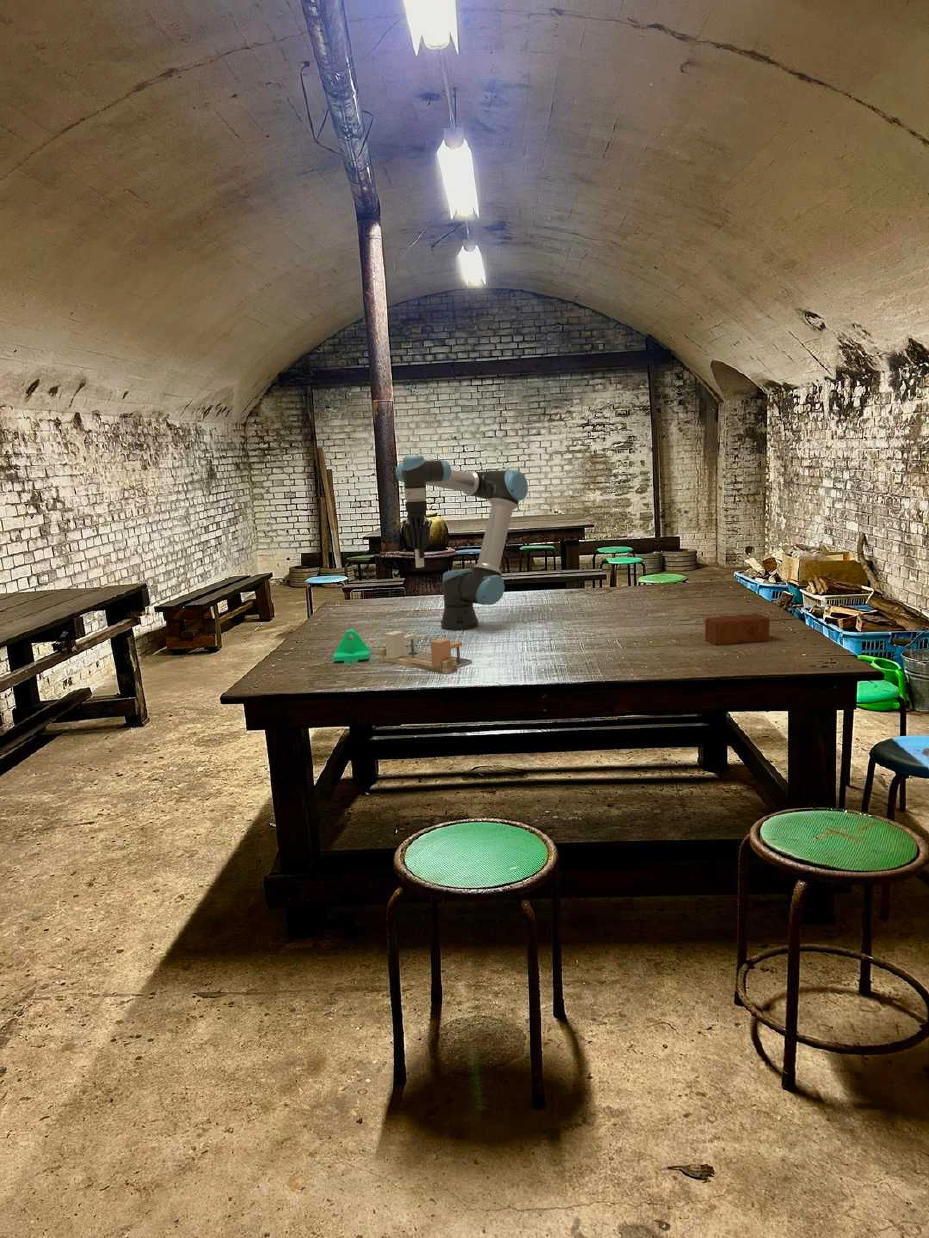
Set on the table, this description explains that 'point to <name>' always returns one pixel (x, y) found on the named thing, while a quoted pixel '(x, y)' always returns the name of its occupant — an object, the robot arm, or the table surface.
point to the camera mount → (351, 648)
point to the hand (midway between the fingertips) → (420, 567)
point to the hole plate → (427, 657)
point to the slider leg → (443, 651)
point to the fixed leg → (397, 643)
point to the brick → (737, 629)
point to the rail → (420, 663)
